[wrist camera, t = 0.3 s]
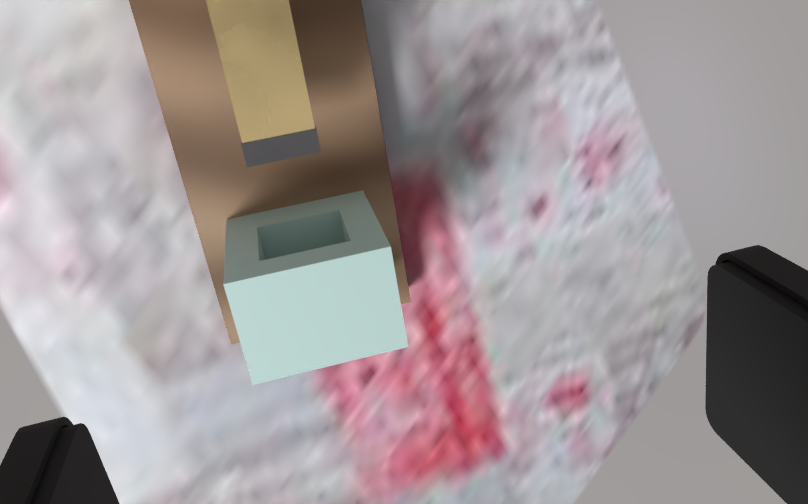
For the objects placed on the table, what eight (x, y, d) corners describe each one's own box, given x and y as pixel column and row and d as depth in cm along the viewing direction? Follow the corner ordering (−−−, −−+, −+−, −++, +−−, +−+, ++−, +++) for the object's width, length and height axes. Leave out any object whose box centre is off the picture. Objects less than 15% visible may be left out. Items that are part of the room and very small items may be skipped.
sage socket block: (226, 219, 36) (223, 284, 29) (363, 190, 36) (390, 246, 30) (250, 305, 38) (252, 384, 31) (378, 276, 39) (408, 346, 32)
